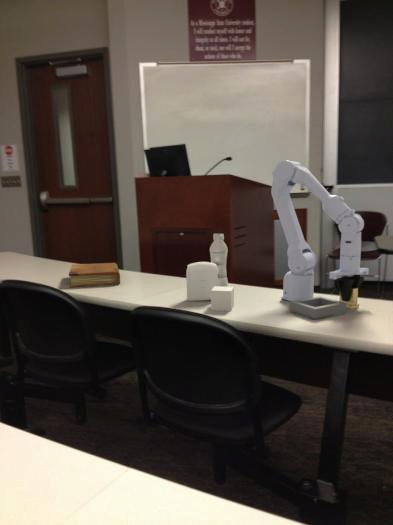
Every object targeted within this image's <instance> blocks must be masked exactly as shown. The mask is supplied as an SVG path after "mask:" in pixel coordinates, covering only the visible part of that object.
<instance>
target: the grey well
mask: <svg viewBox="0 0 393 525" xmlns="http://www.w3.org/2000/svg"><path fill="white" fill-rule="evenodd" d="M289 312H290V313H293V314H296V315H299V316H302V317H305V318H308V319H311V320H314V321H315V320H321V319H325V318H326V319H327V318H331V317H335V316H342V315H345V314H347V308H346V303H344V302H340V301H339V300H336V299H332V298H328V297H325V296H320V295H319V296H313V298H307V299H301V300H296V301H289Z"/></svg>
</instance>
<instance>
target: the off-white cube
mask: <svg viewBox="0 0 393 525" xmlns="http://www.w3.org/2000/svg"><path fill="white" fill-rule="evenodd" d="M234 299H235V287H234V286H227V287H221V286H214V287H213V289H212V290H211V300H210V308H211V309H210V310H211V311H224V310H226V311H228V312H232V310H233V308H234V305H235V300H234Z"/></svg>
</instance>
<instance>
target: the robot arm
mask: <svg viewBox="0 0 393 525" xmlns="http://www.w3.org/2000/svg"><path fill="white" fill-rule="evenodd" d="M271 174H272V183H271V190H270V193H271V198H272V200H273V203H274V206H275V209H276V212H277V214H278V217H279V221H280V224H281V227H282V228H281V229H282V230H283V233H284V237H285V239H286V243H287V245H288V246H287V247H288V248H287V251H286V255H287V267H288V269H289V271H287V272H286V273H285V275H284V276H283V282H282V286H283V290H282V296H281V297H280V299H281V300H286V301H289V302H290V301H296V300H301V299H307V298H313V297H314V292H315V291H314V286H315V285H314V283H315V282H314V281H315V270H314V268H315V267H316V265H317V262H318V258H317V256H316V253H314V252H313V251H312V249H311V246H310V245H309V243H308V242H307V241H306V240H305V237H304V234H303V231H302V228H301V225H300V222H299V218H298V216H297V213H296V210H295V207H294V204H293V201H292V198H291V192H292V190H293V188H294V186H295V185H296V184H297V185H298V184H299V185H303V187H304V186H305V188H306V189H307V190H308V191H310V192H311V193H312V194H313V195H314V196H315V197H316V198H317V199H318V200H319V201H320V202H321V205H322V207H321V208H322V210H323V211H324V212H325V213H326V214H327V216H329V217H330V218H331V220H333V221H334V223H335V224H337V226H338V230H339V232H340V233H341V235H340V236H341V238H340V247H339V248H340V251H339V254H340V255H339V269H336V270H334V271H329V275H328V276H329V277H328V278H329V279H330V280H334V281H335V283H336V285H337V287H338V289H339V294H340V293H341V298H342V301H346V302H349V299H350V291H351V287H355V288H358V290H359V289H360V287H361V285H362V284H363V282H364V281H365V277H364V276H367V275H369V273H370V271H369V270H370V269H369V268H368V267H361V259H362V258H361V257H362V256H361V255H362V254H361V253H362V231H363V229H364V227H365V221H364V219H363V218H362V216H361V215H360V214H359V213H356V211H355V209H354V208H352V209H351V208H350V207H349V205H347V203H346V202H344V201H345V198H344V197H343V196H339V195H337V194H331V193H330V192H329V191H328V190H327V189H326V188H325V187H324V186H323V185H322V183H321V182H320V181H319V180H318V179H317V178H316V177H315V176H314V175H313V173H312V172H311V171H310V170H309V169H308V168H307V167H306V166H304V165H303V164H302V162H299V161H291V160H287V159H283V160H280V161H278V163H277V164H276V165H275V167H274V169H273V171H272V172H271Z"/></svg>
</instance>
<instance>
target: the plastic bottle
mask: <svg viewBox="0 0 393 525" xmlns="http://www.w3.org/2000/svg"><path fill="white" fill-rule="evenodd" d="M224 240H225V236H224V233H213V242H211V245H210V247H209V255H210V263H214V264H216V266H217V269H218V286H221V287H228V285H229V280H228V277H227V258H228V252H229V250H228V246H227V244H226V243H225V241H224Z"/></svg>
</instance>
